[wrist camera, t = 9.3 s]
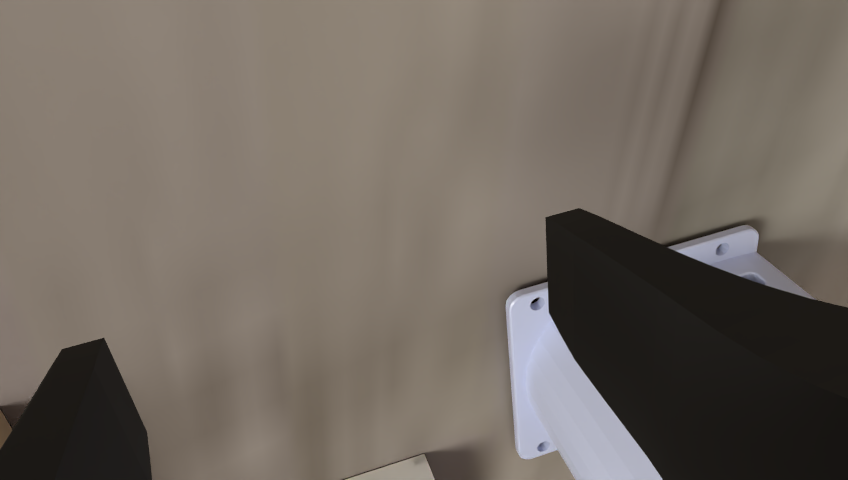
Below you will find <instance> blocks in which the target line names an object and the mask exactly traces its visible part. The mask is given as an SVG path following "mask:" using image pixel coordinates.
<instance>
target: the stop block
mask: <svg viewBox="0 0 848 480" xmlns="http://www.w3.org/2000/svg"><path fill="white" fill-rule="evenodd" d="M11 431H12V428H11V427H10V425H9V423H8V422H7V420H6V418H5V416H4V415H3V413H2V411H1V410H0V449H1V447H2V445H3V444H4V442H5V441H6V439H7V438H8V436H9V435H10V433H11Z"/></svg>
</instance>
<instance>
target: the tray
mask: <svg viewBox="0 0 848 480" xmlns="http://www.w3.org/2000/svg"><path fill="white" fill-rule="evenodd" d="M345 480H435V479H434V477H433V474H432V472H431V469H430V467H429V464H428V462H427V459H426V457H425V454H422V455H419V456H416V457H413V458H410V459H407V460H404V461H401V462H398V463H394V464H391V465H388V466H385V467H382V468H379V469H376V470H373V471H370V472H367V473H364V474H361V475H357V476H354V477H351V478H348V479H345Z"/></svg>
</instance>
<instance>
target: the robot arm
mask: <svg viewBox="0 0 848 480" xmlns="http://www.w3.org/2000/svg"><path fill="white" fill-rule="evenodd" d="M758 240H759V233H758V232H757V231H756V230H755V229H754V228H753V227H751V226H749V225H742V226H739V227H735V228H732V229H728V230H725V231H721V232H718V233H714V234H711V235H708V236H704V237H701V238H697V239H694V240H690V241H687V242H683V243H680V244H677V245H673V246H670V247H665V246H663V245H661V244H659V243H656V242H654V241H652V240H650V239H648V238H645V237H643V236H641V235H639V234H637V233H634V232H632V231H630V230H628V229H626V228H624V227H621V226H619V225H617V224H615V223H613V222H610V221H608V220H606V219H604V218H602V217H599V216H597V215H595V214H592V213H590V212H587V211H585V210H582V209H580V208H578V209H575V210H571V211H567V212H564V213H560V214H556V215H553V216H549V217H546V244H547V276H548V282H545V283H542V284H539V285H535V286H532V287H528V288H525V289H521V290H518V291H516V292H514V293H513V294H511V295H510V296H509V298H508V299H507V301H506V318H507V332H508V346H509V360H510V374H511V388H512V403H513V417H514V431H515V445H516V450H517V452H518V454H519V456H520V457H521V458H523V459H532V458H535V457H538V456H541V455H544V454H547V453H550V452H553V451H556V450H558V451H559V453H560V455H561V456H562V458H563V460H564V461H565V463H566V465H567V466H568V468H569V470H570V471H571V473H572V475H573V476H574V478H575V480H848V308H847V307H843V306H838V305H834V304H830V303H826V302H822V301H818V300H816V299H815V298H813V297H812V296H811V295H810V294H808V293H807V292H806V291H805V290H803V289H802V288H801V287H800V286H798V285H797V284H796V283H795V282H793V281H792V280H791V279H790V278H788V277H787V276H786V275H785V274H783V273H782V272H781V271H780V270H778V269H777V268H776V267H775V266H773V265H772V264H771V263H770V262H768V261H767V260H766V259H765V258H763V257H762V256H761V255H760V254H758V253H757V246H758ZM720 244H721V246H720V247H719V248H717V247H718V246H719V245H720ZM538 297H539V299H538V300H537V302H535V303H531V302H532V301H533V300H534V299H536V298H538ZM0 480H152V476H151V465H150V455H149V446H148V437H147V431H146V429H145V427H144V425H143V422H142V420H141V418H140V416H139V414H138V411H137V409H136V407H135V405H134V403H133V400H132V398H131V396H130V394H129V392H128V389H127V387H126V385H125V383H124V381H123V378H122V376H121V374H120V372H119V370H118V367H117V365H116V363H115V361H114V359H113V356H112V354H111V352H110V350H109V348H108V346H107V343H106V341H105V339H104V338H102V339H98V340H94V341H91V342H87V343H83V344H80V345H76V346H72V347H69V348H65V349H62V350H61V352H60V353H59V355H58V357H57V358H56V360H55V361H54V363H53V364H52V366H51V368H50V369H49V371H48V372H47V374H46V376H45V377H44V379H43V381H42V382H41V384H40V386H39V387H38V389H37V391H36V392H35V394H34V396H33V397H32V399H31V401H30V402H29V404H28V406H27V407H26V409H25V411H24V412H23V414H22V416H21V417H20V419H19V420H18V422H17V424H16V425H15V427H14V428H13V430H12V431H11V433H10V435H9V436H8V438H7V439H6V441H5V442H4V444H3V445H2V447H1V449H0Z"/></svg>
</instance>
